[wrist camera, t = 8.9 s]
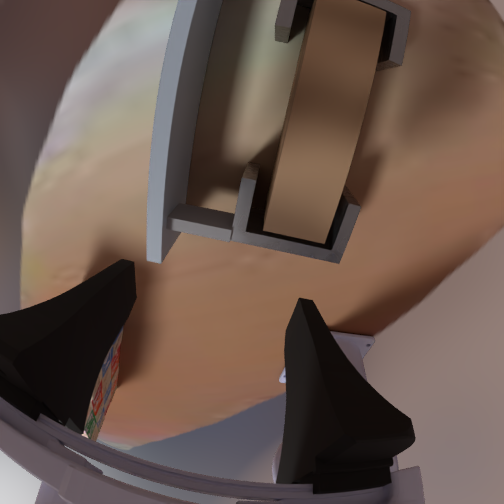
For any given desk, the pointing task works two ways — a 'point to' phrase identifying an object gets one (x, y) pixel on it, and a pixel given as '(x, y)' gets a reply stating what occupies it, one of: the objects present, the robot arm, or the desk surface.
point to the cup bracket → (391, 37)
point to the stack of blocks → (103, 391)
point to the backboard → (181, 133)
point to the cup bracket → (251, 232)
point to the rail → (323, 117)
